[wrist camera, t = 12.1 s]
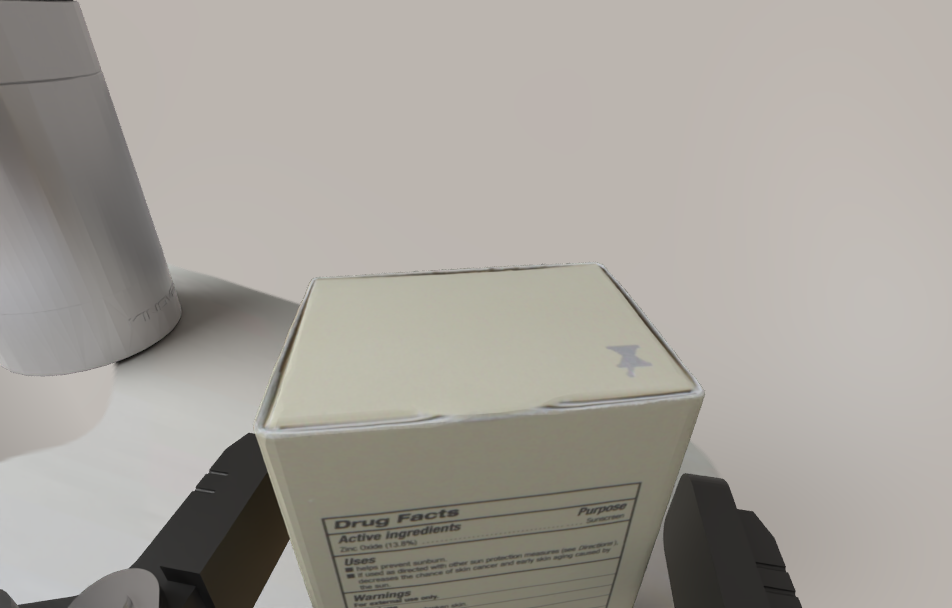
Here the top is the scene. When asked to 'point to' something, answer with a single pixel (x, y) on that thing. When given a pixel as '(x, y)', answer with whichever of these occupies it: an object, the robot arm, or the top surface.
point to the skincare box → (475, 438)
